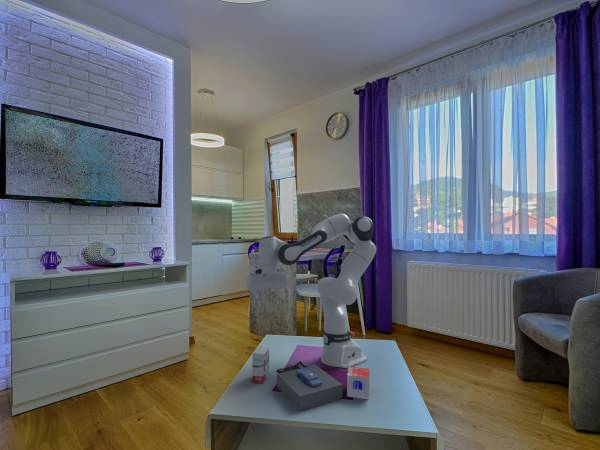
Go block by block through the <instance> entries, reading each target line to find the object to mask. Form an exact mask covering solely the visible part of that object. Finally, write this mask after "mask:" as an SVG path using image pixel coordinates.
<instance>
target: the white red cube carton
mask: <svg viewBox="0 0 600 450" xmlns="http://www.w3.org/2000/svg"><path fill="white" fill-rule="evenodd" d="M347 369H348V371H347V375H346V376H347V377H346V396H347V397H351V398H357V399H365V400H369V399H370V398H369V396H370V395H369V394H370V368H366V367H365V368H364V367H357V366H352V367H350V366H349V368H347Z"/></svg>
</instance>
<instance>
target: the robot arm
mask: <svg viewBox="0 0 600 450" xmlns="http://www.w3.org/2000/svg"><path fill="white" fill-rule="evenodd" d="M341 236H343V237H344V238H345V239H346V240H347V241H348V243H350V244H351V245H354V246H353V248H352V250H351V251H350V252H349V253H348V255H347V256H346V257H345V258H344V260H343V261H342V262H341V264H340V269H341V270H340V273H339V275H338V277H332V276H328V277H327V276H326V277H322V278H321V279H319V280H318V282H317V286H316V287H317V293H319V296H320V299H321V304H322V305H321V306H322V308H323V317H324V318H323V325H324V326H323V328H324V329H323V331H322V332H323V334H322V340H323V346H322V351H321V357H320V362H321V363H322V364H324V365H326V366H329V367H334V368H335V367H336V368H343V369H349V366H350V367H355V366H357V365H359V364H361V363H364V362H366V361H367V356H366V355H365V354H363V352H362V347H361V346H360V344H359V343H358V342H356V341H355V340H353V339H352V338H351V337H355V332H353V331H351V330H350V331H349V330H348V313H347V311H346V309H345V306H349V305H353V304H354V302H356V300H357V297H358V290H357V287H358V283H359V282H360V279H361V277H362V276H363V274H364V273H365V271H366V270H367V269H368V268H369V266H370V264H371V263H372V261H373V259H374V257H375V255H376V253H377V246H376V245H375V243H373V241H372V239H373V237H374V223H373V220H372V219H371V218H369V217H368V216H365V215H364V216H363V215H362V216H358V217H356V218H355V219H354V220H351V219H350V217H349V216H348V215H347V214H345V213H338V214H335V215H332V216H330V217H326V218H325V219H324V220H323V219H322V220H321V221H320V222H319V223H317V224H316V225H314V227H313V230H312V232H311V233H310V234H309V235H307V236H306V237H305V236H304V238H302V239H300V240H299V241H296V242H293V243H288V242H286V241H283V240H281V239H279V238H278V237H277V236H275V235H269V236H268V235H267V236H264V237H262V238H261V239H260V240H259V245H258V256H259V259H258V265H256V266H253V267H251V268H248V273H249V274H248V275H247V279H246V289H247V290H249V291H253V293H254V294H255V298H256V300H260V299H261V294H259V293H258V292H259V290H268V289H269V290H270V289H276V292H274V293H273V297H274V298H279V294H280V292H281V289H283V288H287V286H288V277H287V276H288V271H287V270H286V269H285V268H278V262H280V263H281V264H283V265H285V266H293V265H295V264H296V263H298V261H299V260H300V258H301V257H302V256H304V254H306V253H308V252H309V251H312V249H314V248H317V247H318V246H320V245H322V244H325V243H328V242H331V241H332V240H335V239H337V238H339V237H341Z"/></svg>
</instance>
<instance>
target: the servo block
mask: <svg viewBox="0 0 600 450" xmlns="http://www.w3.org/2000/svg"><path fill="white" fill-rule="evenodd" d="M296 373H297V374H299V375H300V380H301V381H303V382H304V383H305V384H306V385H307V386H309V385H311V386H313V387H314V386H318V385H322V382H321V381H320V380H319V379H318V376H317V375H315V374H314V373H313V372H311V371H310V370H309V369H308V370H306V369H305V368H304V369H300V370H296Z"/></svg>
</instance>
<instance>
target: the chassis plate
mask: <svg viewBox="0 0 600 450" xmlns="http://www.w3.org/2000/svg"><path fill="white" fill-rule="evenodd" d="M304 368H305V369H306V370H308V369H309V370H310V371H311V372H313V373H314V374H315V375H317V376H318V379H319V380H320V381H321V382H322V385H318V386H314V387H313V386H311V385H309V386H307V385H306V384H305V383H304V382H303V381H301V380H300V375H299V374H297V373H296V370H300V369H304ZM304 368H300V369H296V370H291V371H287V372H283V373H278V372H277V373H276V388H277V389H279V390H280V392H281V393H282V394H283V395H284V396H285V397H286V398H287V399H288V400H289V402H290V403H291V404H292V406H294V407H295V408H296V409H297V410H298V411H299V412H301V411H304V410H307V409H311V408H315V407H318V406H320V405H324V404H327V403H331V402H334V401H337V400H341V399H343V384H342V383H341V382H340V381H338V379H335V378H334V377H333V376H331V374H329V373H327V372H326V371H325V370H324V369H322V368H321V367H319V366H318V365H316V364H312V365H309V366H306V367H304Z"/></svg>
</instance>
